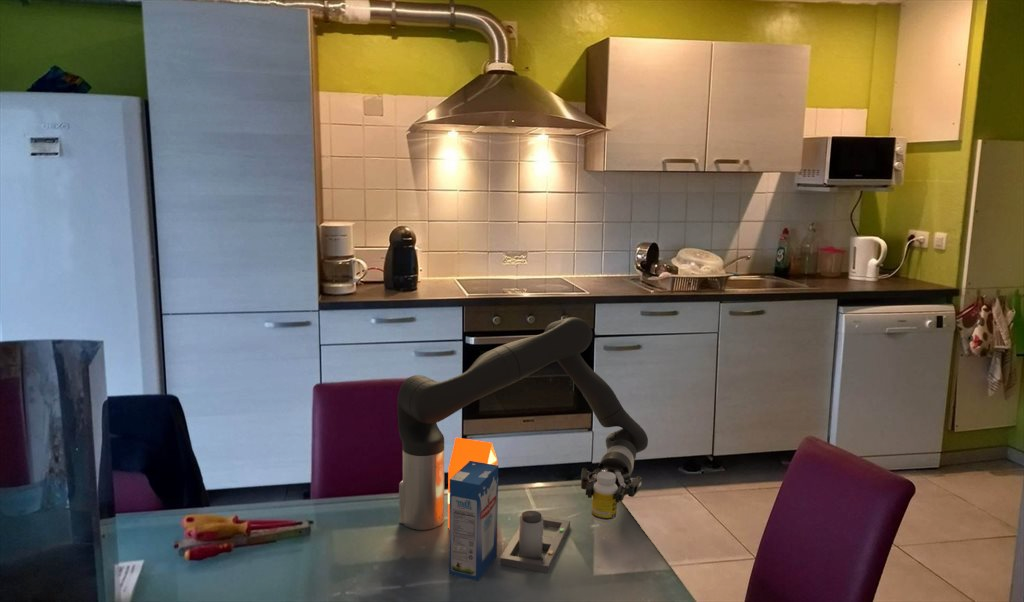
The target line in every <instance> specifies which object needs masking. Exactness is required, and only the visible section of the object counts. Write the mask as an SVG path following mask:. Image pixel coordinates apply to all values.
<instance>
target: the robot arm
mask: <svg viewBox="0 0 1024 602" xmlns="http://www.w3.org/2000/svg"><path fill="white" fill-rule="evenodd" d="M545 327H546V328H545V329H544V332H543V333H540V334H537V335H533V336H529V337H526V338H525V337H524V338H522V339H517V340H514V341H511V342H508V343H505V344H502V345H500V346H497V347H495V348H493V349H490V350H488V351H486V352H484V353H483V354H480V355H479V356H478V358H476V359H475V361H473V363H472V364H471V365H470V366H469V368H468V369H467V370H465V372H462V373H461V374H459V375H456V376H453V377H451V378H448V379H446V380H442V381H436V380H434V379H431V378H429V377H427V376H424V375H422V374H421V375H420V374H416V375H412V376H409V377H408V378H406V379H405V380H404V381H403V383H401V385H400V388H399V390H398V394H397V406H396V407H397V423H398V434H399V438H400V440H401V443H402V444H401V445H402V447H401V448H402V480H401V481H400V482H399V483H398V495H399V496H398V499H399V500H398V504H399V507H398V508H399V514H398V516H399V523H400V524H403V525H405V527H408V528H410V529H413V530H418V531H420V530H421V531H423V530H432V529H436V528H437V527H440V526H441V525H442V524H443V523H444V521H445V436H444V434H443V433H442V431H441V430H440V428H439V426H438V423H439V422H441V421H443V420H445V419H447V418H448V417H450V416H452V415H454V414H455V413H457V412H459V411H460V410H461V409H463V408H465V407H466V406H469V405H470V404H472V403H474V402H475V401H478V400H480V399H482V398H485V397H486V396H489V395H490V394H493V393H495V392H497V391H499V390H502V389H504V388H507V387H509V386H511V385H512V384H516V383H517V382H519V381H521V380H523V379H526V377H528V376H530V375H532V374H534V373H536V372H537V371H539V370H541V369H543V368H544V367H546V366H548V365H550V364H551V363H552V364H553V363H554V362H557V363H558V364H559V366H560V367H561V368H562V369H563V371H565V373H566V374H567V376H568V377H569V378H570V379H571V381H572V382H573V383H574V384H575V386H576V388H577V389H578V390H579V391H580V392H581V394H582V396H583V398H584V399H585V400H586V402H587V403H588V406H589V407H590V409H591V410H592V412H593V414H594V415H595V417H596V419H597V421H598V422H599V424H600V425H601V426H602V427H603V428H607V429H608V428H614V427H619V428H620V429H618V430H615V431H613V432H612V433H610V434H608V435H607V436H606V438H605V446H606V448H607V450H606V451H605V453H604V454H603V455H602V458H601V459H600V462H599V463H598V466H597V467H596V469H594V470H593V471H589V470H588V468H586V467H582V468H581V474H580V475H581V477H580V488H581V489H582V490H585V496H587V498H589V499H591V498H593V486H594V484H595V483H596V482H597V474H598V473H599V472H603V471H606V472H611V473H614V474H615V475H616V481H615V484H616V485H617V486H618V490H617V492H616V502H617V504H618V503H620V501H621V502H623V500H624V498H625V497H626V495H628V497H631V498H632V497H633V498H634V497H635V495H637V493H638V492H639V491H640V490H641V489H642V480H643V479H642V477H641V476H638V475H637V476H635V477H631V475H632V473H633V471H634V465H635V461H636V458H637V454H638V453H640V452H643V451H644V450H646V449H647V447H648V445H649V440H648V439H649V438H648V435H647V433H646V432H645V430H644V428H643V427H641V425H640V424H638V422H636V420H634V419H633V418H632V417H631V415H630V414H629V413H628V412H627V411H626V409H624V407H623V406H622V404H621V402H620V400H619V398H618V397H617V395H616V393H615V391H614V390H613V389H612V387H611V386H610V385H609V384H608V383H607V382H606V381H605V380H604V379H603V378H602V377H601V376H599V374H597V372H595V370H593V369H592V368H591V366H589V364H588V363H587V362H586V361H585V360H584V358H583V357H582V355H581V354H582V353H584V351H586V350H587V349H588V348H589V346H590V344H591V342H592V340H593V331H592V327H591V325H589V322H587V321H586V320H584V319H582V318H579V317H575V316H573V317H572V316H571V317H566V318H562V319H559V320H556V321H553V322H550V323H549V324H548V325H547V326H545Z"/></svg>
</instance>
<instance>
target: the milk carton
mask: <svg viewBox="0 0 1024 602" xmlns="http://www.w3.org/2000/svg"><path fill="white" fill-rule="evenodd" d="M498 501H499V465H498V464H497V465H492V464H486V463H480V462H475V461H469V462H468V463H467V464H466V465H465V466H464V467H463V468H462V469H461V470H459V471H458V472H457V473H456V474H455V475H454V476H453V477H452V478H451V479H450V523H449V529H448V530H449V533H448V534H449V540H448V543H449V544H448V545H449V546H448V549H449V550H448V551H449V553H448V555H449V557H448V559H449V560H448V565H449V566H448V568H449V569H448V574H449V575H450V574H452V575H451V576H454V575H455V576H456V577H459V578H463V579H464V578H465V579H468V580H473V581H477V582H479V581H480V579H481V578H482V576H483V575H484V574H485V573H486V572H487V570H488V569H489V567H490V566H491V565H492V563H494V560H496V558H497V557H498V553H497V552H498V514H499V513H498V510H499V509H498V508H499V505H498V504H499V502H498Z"/></svg>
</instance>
